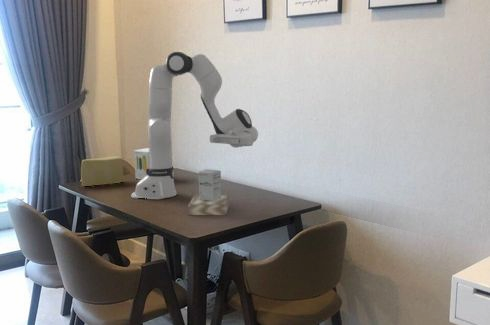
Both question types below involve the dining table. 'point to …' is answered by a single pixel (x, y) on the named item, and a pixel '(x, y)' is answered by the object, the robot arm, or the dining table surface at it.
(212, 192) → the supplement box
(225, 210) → the block
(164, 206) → the dining table surface
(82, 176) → the cheese
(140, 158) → the supplement box
